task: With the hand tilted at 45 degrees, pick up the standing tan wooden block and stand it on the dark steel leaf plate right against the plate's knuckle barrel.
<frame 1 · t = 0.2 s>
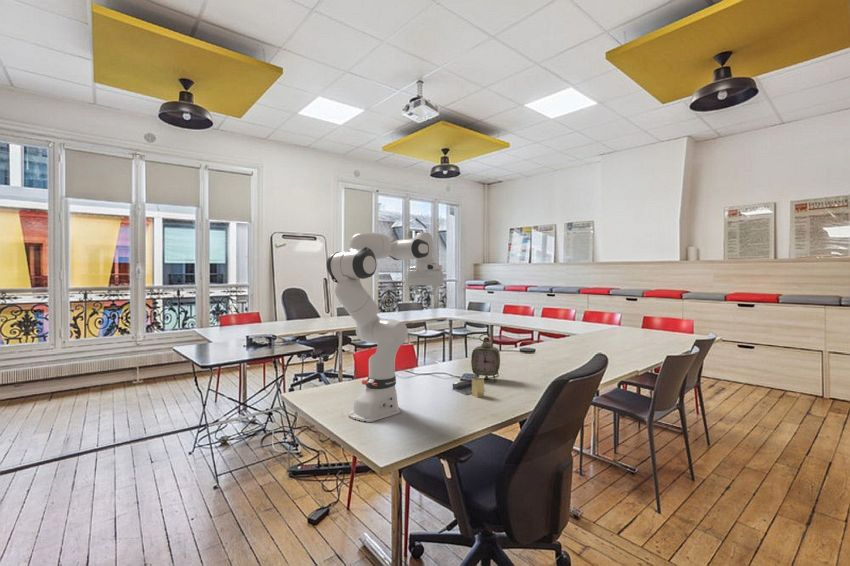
hand: (424, 294, 193), 48 cm above the table, tool pointing down, fingers open, 8 cm apart
fixed leaf: (468, 390, 195), on the table
tan wooden block: (477, 395, 186), on the table
tabletop clock: (486, 380, 214), on the table
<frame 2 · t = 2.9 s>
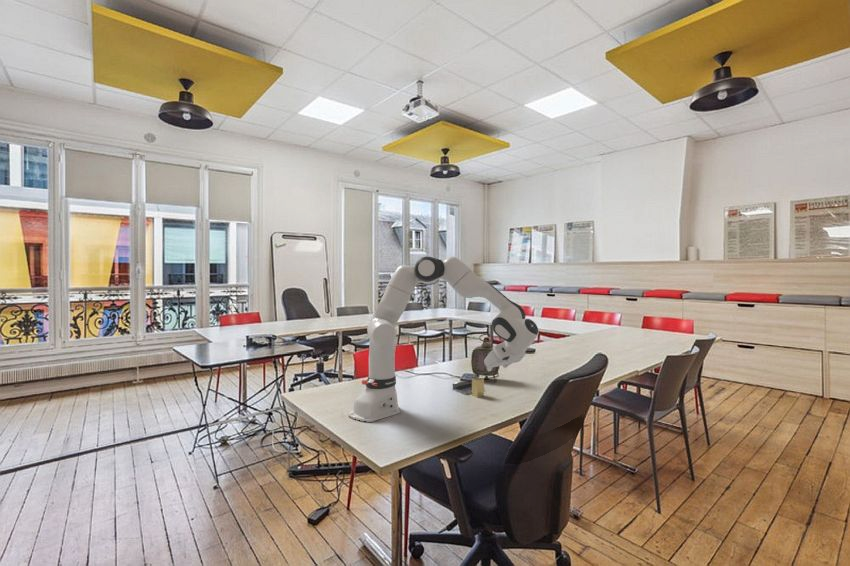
hand: (496, 368, 176), 15 cm above the table, tool tilted 45°, fingers open, 8 cm apart
nothing on the table moved.
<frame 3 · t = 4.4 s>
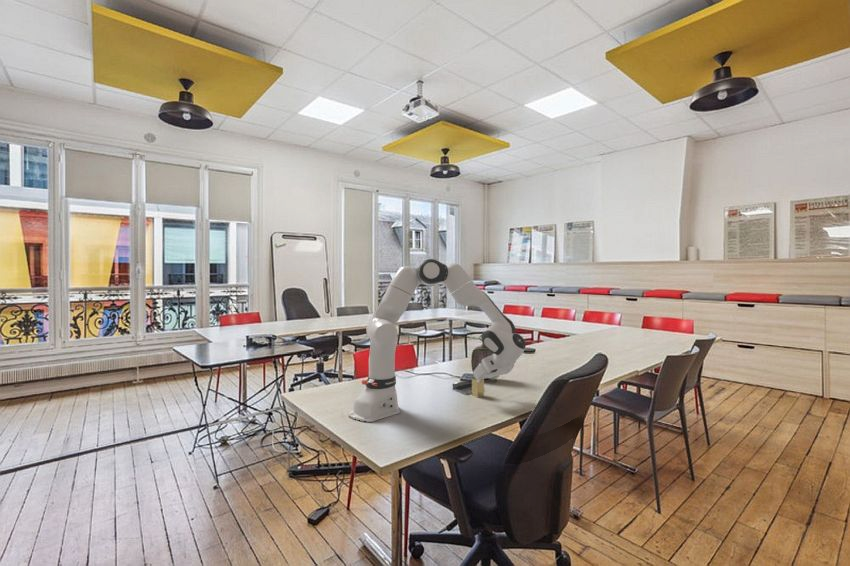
hand: (485, 379, 181), 9 cm above the table, tool tilted 45°, fingers open, 8 cm apart
nothing on the table moved.
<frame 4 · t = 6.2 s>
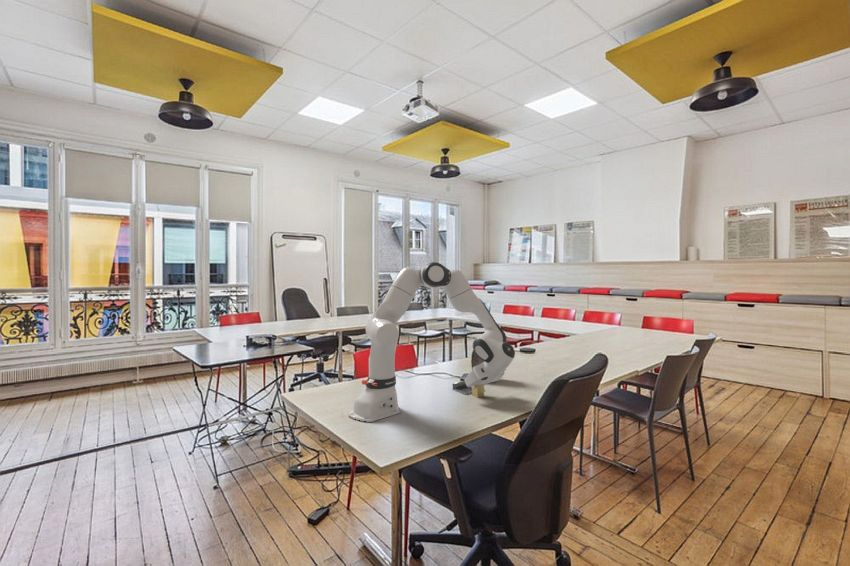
hand: (477, 386, 187), 4 cm above the table, tool tilted 45°, fingers closed on tan wooden block, 4 cm apart
tan wooden block: (477, 395, 186), on the table, touching gripper
everything else where it was.
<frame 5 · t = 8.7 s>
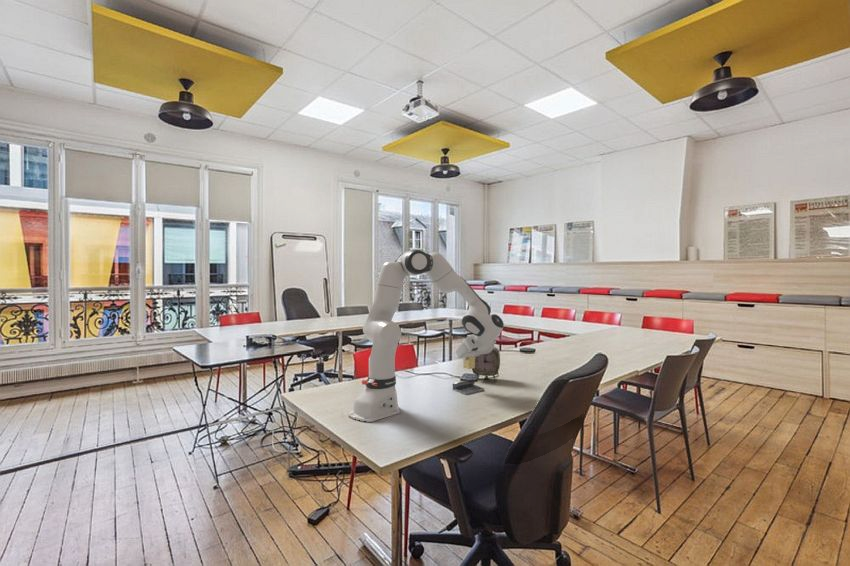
hand: (468, 358, 195), 16 cm above the table, tool tilted 45°, fingers closed on tan wooden block, 4 cm apart
tan wooden block: (469, 367, 194), point 11 cm above the table, touching gripper
everything else where it was.
when the fingers open (6 cm above the table, at t = 11.1 s): tan wooden block stays where it is, resting on fixed leaf.
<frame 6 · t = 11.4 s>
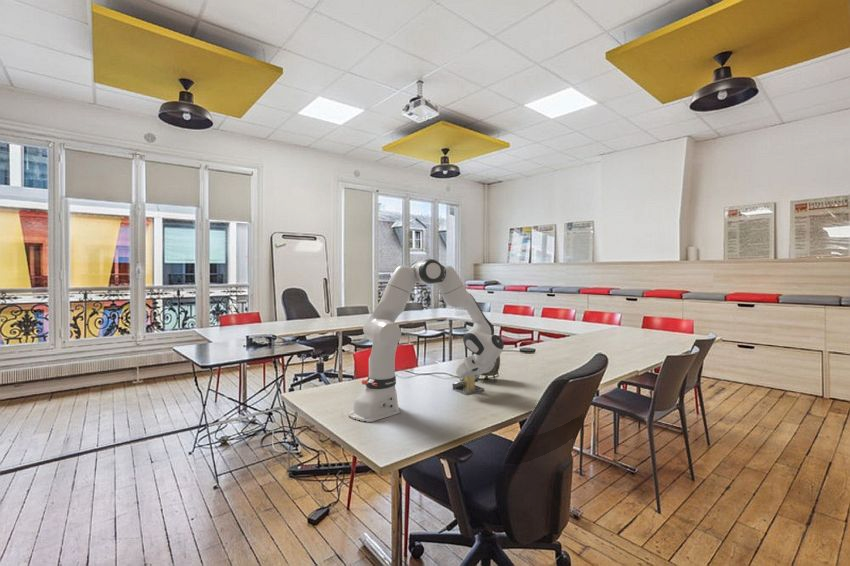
hand: (468, 377, 195), 6 cm above the table, tool tilted 45°, fingers open, 8 cm apart
tan wooden block: (469, 388, 195), point 1 cm above the table, touching fixed leaf
everything else where it was.
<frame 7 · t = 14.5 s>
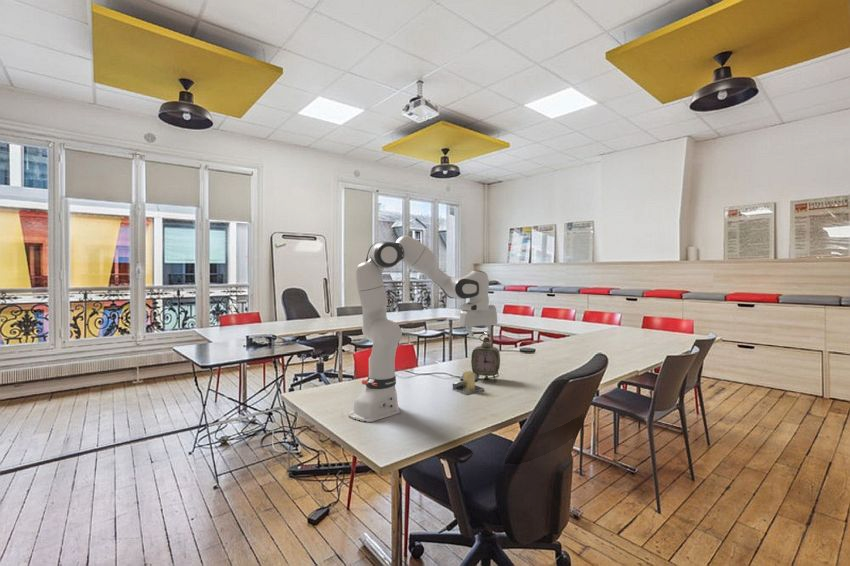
hand: (479, 335, 183), 29 cm above the table, tool pointing down, fingers open, 8 cm apart
nothing on the table moved.
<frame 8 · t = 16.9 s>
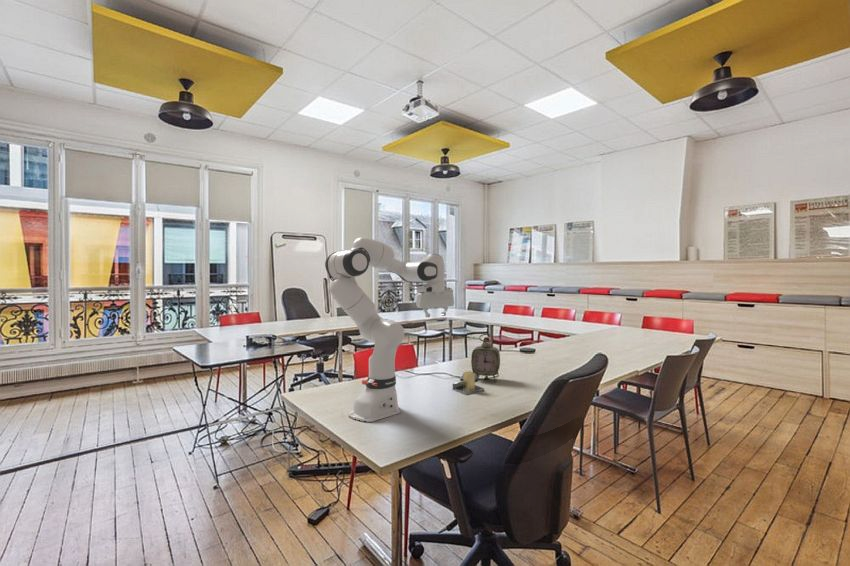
hand: (435, 316, 191), 37 cm above the table, tool pointing down, fingers open, 8 cm apart
nothing on the table moved.
at the end: tan wooden block 0.2 cm off-centre on the fixed leaf, point 1.0 cm above the fixed leaf's base; tan wooden block tilted 0°; the gripper is holding nothing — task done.
